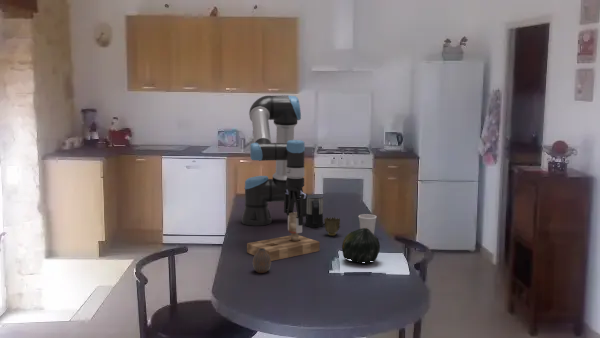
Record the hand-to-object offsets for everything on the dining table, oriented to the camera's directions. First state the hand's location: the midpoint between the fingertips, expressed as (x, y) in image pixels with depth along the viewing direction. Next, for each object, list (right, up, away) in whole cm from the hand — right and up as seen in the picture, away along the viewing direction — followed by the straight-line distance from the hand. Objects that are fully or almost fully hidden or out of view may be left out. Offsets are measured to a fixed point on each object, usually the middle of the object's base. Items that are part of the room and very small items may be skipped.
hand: (294, 231), depth 266 cm
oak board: (-5, -8, -3) cm, 10 cm away
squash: (+26, -11, -16) cm, 33 cm away
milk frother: (+13, -2, +46) cm, 48 cm away
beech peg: (0, -4, 0) cm, 4 cm away
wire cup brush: (+17, -5, +26) cm, 32 cm away
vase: (-12, -12, -30) cm, 35 cm away
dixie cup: (+33, -5, +24) cm, 41 cm away
